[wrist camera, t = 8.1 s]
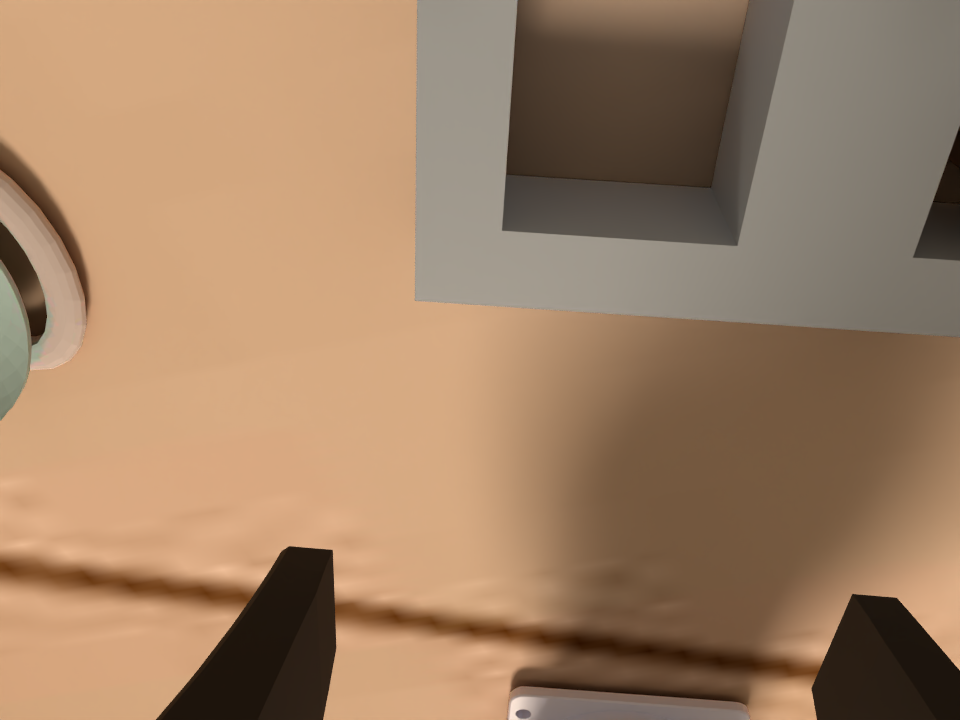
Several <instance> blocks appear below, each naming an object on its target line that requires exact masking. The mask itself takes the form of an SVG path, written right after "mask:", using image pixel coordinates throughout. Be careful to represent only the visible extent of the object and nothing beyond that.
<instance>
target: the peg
mask: <svg viewBox="0 0 960 720" xmlns="http://www.w3.org/2000/svg"><path fill="white" fill-rule="evenodd" d="M948 158H949V159H950V160H951V161H952V162H953V163H954V164H956V165H957V166H958V167H959V168H960V126H959V129H958V132H957V135H956V138H955V140H954V143H953V146H952V149H951V152H950V154H949V157H948Z"/></svg>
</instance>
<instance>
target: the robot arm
mask: <svg viewBox="0 0 960 720" xmlns="http://www.w3.org/2000/svg"><path fill="white" fill-rule="evenodd" d="M335 652H336V627H335V600H334V573H333V550H326V549H314V548H302V547H291V546H289V547H288V548H286V549H285V550H283V551H282V552H281V553H280V555H279V556H278V558H277V560H276V561H275V563H274V565H273V566H272V568H271V570H270V571H269V573H268V574H267V576H266V577H265V579H264V580H263V582H262V583H261V585H260V586H259V588H258V589H257V591H256V592H255V594H254V595H253V597H252V598H251V600H250V601H249V603H248V604H247V605H246V607H245V608H244V610H243V611H242V612H241V614H240V615H239V617H238V618H237V619H236V621H235V622H234V624H233V625H232V626H231V628H230V629H229V630H228V632H227V633H226V634H225V635H224V637H223V638H222V639H221V641H220V642H219V643H218V645H217V646H216V647H215V648H214V650H213V651H212V652H211V654H210V655H209V656H208V658H207V659H206V660H205V662H204V663H203V664H202V665H201V667H200V668H199V669H198V671H197V672H196V673H195V674H194V676H193V677H192V678H191V679H190V680H189V682H188V683H187V684H186V685H185V686H184V688H183V689H182V690H181V691H180V692H179V693H178V695H177V696H176V697H175V698H174V699H173V700H172V702H171V703H170V704H169V705H168V706H167V707H166V709H165V710H164V711H163V712H162V713H161V714H160V716H159V717H158V718H157V719H156V720H323V717H324V712H325V707H326V701H327V696H328V691H329V685H330V680H331V674H332V669H333V663H334V657H335ZM812 693H813V699H814V705H815V710H816V716H817V720H960V670H959V669H958V668H957V667H956V666H955V665H954V663H953V662H952V661H951V660H950V659H949V658H948V656H947V655H946V654H945V653H944V652H943V651H942V649H941V648H940V647H939V646H938V645H937V644H936V642H935V641H934V640H933V639H932V638H931V637H930V635H929V634H928V633H927V632H926V631H925V630H924V628H923V627H922V626H921V625H920V624H919V623H918V622H917V620H916V619H915V618H914V617H913V616H912V615H911V613H910V612H909V611H908V610H907V609H906V608H905V607H904V606H903V604H902V603H901V602H900V601H899V600H898V599H897V598H892V597H880V596H868V595H856V594H852V596H851V599H850V601H849V603H848V605H847V608H846V610H845V612H844V615H843V617H842V619H841V622H840V624H839V626H838V629H837V631H836V633H835V635H834V638H833V640H832V642H831V645H830V647H829V649H828V652H827V654H826V656H825V659H824V661H823V663H822V665H821V668H820V670H819V672H818V675H817V677H816V679H815V682H814V684H813V686H812ZM507 720H750V715H749V711H748V708H747V707H746V705H744V704H742V703H739V702H732V701H719V700H705V699H692V698H678V697H665V696H651V695H638V694H624V693H611V692H597V691H584V690H570V689H557V688H543V687H530V686H520V687H517V688H515V689H514V690H512V691H511V693H510V696H509V706H508V715H507Z"/></svg>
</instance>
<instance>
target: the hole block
mask: <svg viewBox="0 0 960 720" xmlns="http://www.w3.org/2000/svg"><path fill="white" fill-rule="evenodd" d="M517 3H518V0H417V98H416V227H415V301H425V302H440V303H455V304H470V305H485V306H500V307H515V308H530V309H545V310H560V311H575V312H590V313H604V314H619V315H634V316H649V317H664V318H679V319H694V320H709V321H724V322H739V323H754V324H769V325H784V326H799V327H814V328H829V329H844V330H859V331H874V332H889V333H903V334H918V335H933V336H948V337H960V204H953V203H938V202H933V199H934V197H935V194H936V191H937V188H938V185H939V183H940V180H941V177H942V174H943V171H944V169H945V166H946V163H947V160H948V157H949V154H950V152H951V149H952V146H953V143H954V140H955V138H956V135H957V132H958V129H959V126H960V0H749V5H748V10H747V14H746V19H745V24H744V29H743V34H742V39H741V44H740V49H739V54H738V58H737V63H736V68H735V73H734V78H733V83H732V88H731V93H730V98H729V102H728V107H727V112H726V117H725V122H724V127H723V132H722V137H721V142H720V146H719V151H718V156H717V161H716V166H715V171H714V176H713V181H712V186H711V188H705V187H689V186H674V185H658V184H642V183H627V182H611V181H596V180H580V179H565V178H549V177H534V176H518V175H506V167H507V152H508V137H509V122H510V107H511V92H512V77H513V62H514V48H515V33H516V18H517Z"/></svg>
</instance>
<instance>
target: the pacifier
mask: <svg viewBox="0 0 960 720" xmlns="http://www.w3.org/2000/svg"><path fill="white" fill-rule="evenodd" d="M0 222H1V223H2V224H3V225H4V226H5V227H6V228H7V229H8V230H9V231H10V233H11V234H12V235H13V237H14V238H15V239H16V241H17V242H18V243H19V245H20V246H21V247H22V249H23V250H24V251H25V253H26V255H27V257H28V259H29V261H30V262H31V264H32V266H33V268H34V270H35V272H36V274H37V276H38V279H39V281H40V284H41V287H42V290H43V293H44V296H45V303H46V311H47V321H46V327H45V332H44V333H42V334H41V335H39V336H33V337H31V332H30V326H29V320H28V316H27V313H26V309H25V306H24V303H23V301H22V298H21V295H20V293H19V290H18V288H17V286H16V284H15V282H14V280H13V278H12V277H11V275H10V273H9V272H8V270H7V268H6V267H5V265H4V264H3V262H2V261H1V259H0V420H2V418H3V417H4V416H5V415H6V413H7V412H8V411H9V410H10V409H11V408H12V407H13V405H14V404H15V402H16V400H17V399H18V397H19V395H20V394H21V392H22V390H23V389H24V387H25V384H26V381H27V378H28V374H29V371H30V370H41V369H53V368H56V367H58V366H60V365H62V364H64V363H66V362H68V361H70V360H71V359H72V358H73V357H74V355H75V354H76V353H77V351H78V350H79V349H80V347H81V346H82V343H83V338H84V334H85V329H86V325H87V320H86V307H85V296H84V293H83V289H82V286H81V283H80V280H79V277H78V273H77V270H76V267H75V265H74V263H73V261H72V259H71V257H70V255H69V253H68V251H67V250H66V248H65V246H64V244H63V242H62V240H61V238H60V236H59V235H58V233H57V232H56V231H55V229H54V228H53V226H52V225H51V224H50V222H49V221H48V219H47V218H46V217H45V215H44V214H43V212H42V211H41V210H40V208H39V207H38V206H37V205H36V204H35V203H34V202H33V200H32V199H31V198H30V197H29V196H28V195H27V194H26V193H25V192H24V191H23V190H22V189H21V188H20V187H19V186H18V185H17V184H16V183H15V181H14V180H13V179H11V178H10V177H9V176H8V175H6V174H5V173H4V172H2V171H1V170H0Z"/></svg>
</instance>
